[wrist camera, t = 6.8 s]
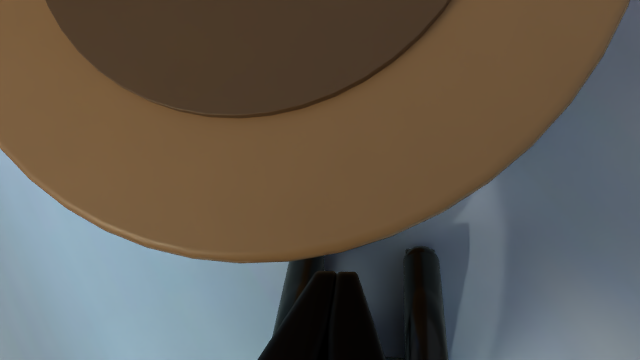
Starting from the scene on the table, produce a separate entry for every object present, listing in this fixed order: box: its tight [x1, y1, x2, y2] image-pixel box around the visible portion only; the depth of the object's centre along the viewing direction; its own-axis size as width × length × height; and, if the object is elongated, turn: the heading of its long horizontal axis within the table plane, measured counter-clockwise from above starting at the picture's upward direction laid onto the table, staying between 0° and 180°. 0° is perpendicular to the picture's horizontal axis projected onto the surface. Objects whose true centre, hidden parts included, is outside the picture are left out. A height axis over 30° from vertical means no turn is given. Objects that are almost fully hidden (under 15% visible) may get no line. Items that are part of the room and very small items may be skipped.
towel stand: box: [272, 246, 448, 360], centre depth 14 cm, size 5×6×6 cm
